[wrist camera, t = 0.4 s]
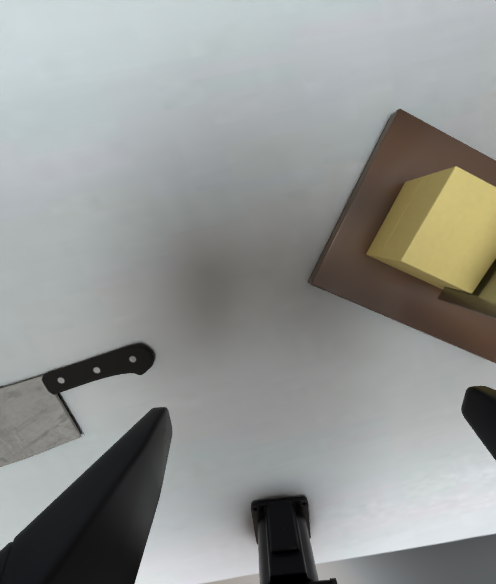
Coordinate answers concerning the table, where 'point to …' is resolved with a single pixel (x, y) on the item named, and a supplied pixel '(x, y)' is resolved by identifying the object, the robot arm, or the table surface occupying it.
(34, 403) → the cleaver
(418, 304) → the board
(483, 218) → the butter block
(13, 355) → the table surface
